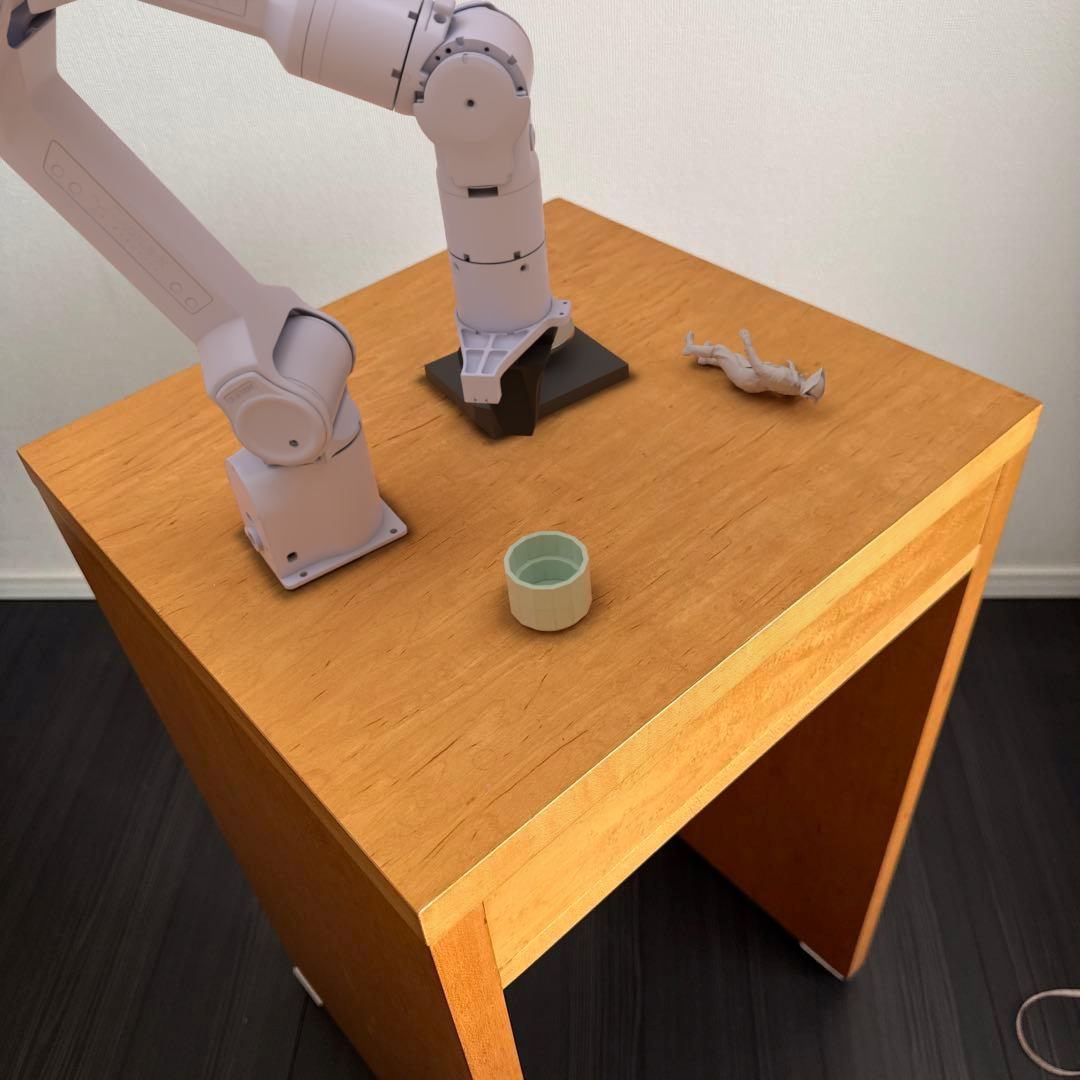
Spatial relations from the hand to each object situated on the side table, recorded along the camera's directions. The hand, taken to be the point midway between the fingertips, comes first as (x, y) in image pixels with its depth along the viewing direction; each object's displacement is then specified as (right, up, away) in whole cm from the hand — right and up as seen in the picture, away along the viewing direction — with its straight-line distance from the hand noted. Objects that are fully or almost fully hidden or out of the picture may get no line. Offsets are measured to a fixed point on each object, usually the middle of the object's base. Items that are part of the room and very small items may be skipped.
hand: (519, 429), depth 74 cm
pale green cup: (+2, -12, 0) cm, 12 cm away
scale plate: (0, +10, +19) cm, 21 cm away
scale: (0, +6, +19) cm, 20 cm away
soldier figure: (+18, +5, +16) cm, 24 cm away
